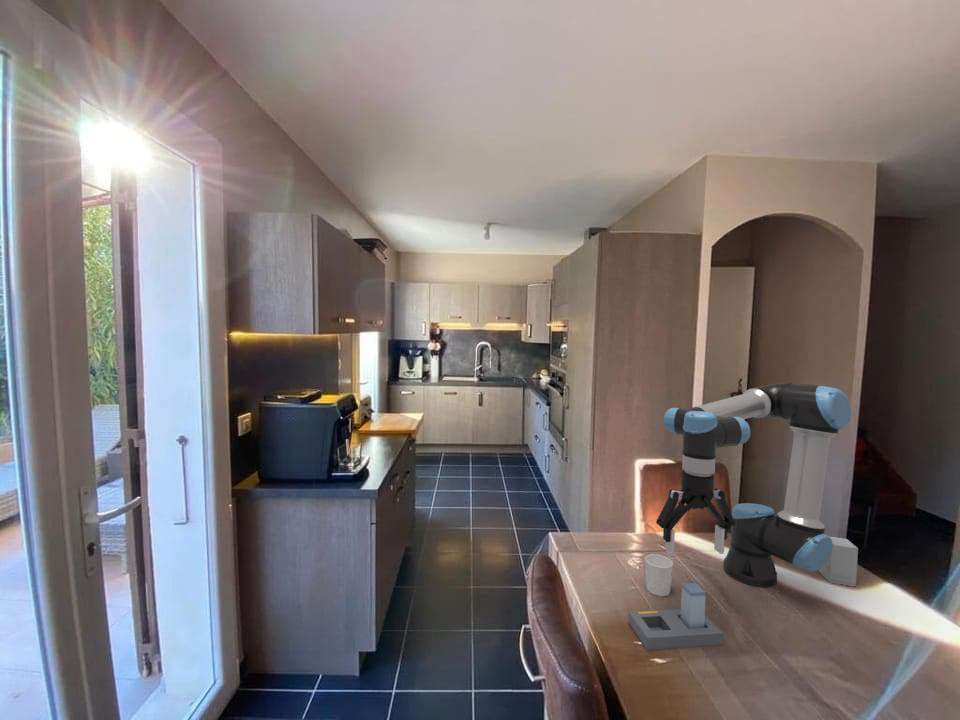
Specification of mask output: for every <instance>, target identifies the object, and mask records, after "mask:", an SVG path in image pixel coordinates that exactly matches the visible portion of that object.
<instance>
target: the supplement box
mask: <svg viewBox="0 0 960 720" xmlns="http://www.w3.org/2000/svg"><path fill="white" fill-rule="evenodd" d="M829 537H830V538H831V539H832V543H833V549H832V553H831V555H830V558H829V560H828V561H827V563H826V564H825V565H824V566H823V567H822V568H821V569H819V570H818V571H819V573H820V574H821V575H822V576H823V577H824V579H825V580H826V581H827V582H828V583H831V584H834V583H835V584H836V585H840V584H843V585H842V586H846V585H850V586H849V587H853V586H857V574H858V573H857V572H858V554H859V548H858V547H857V546H856V545H855V544H854V543H852V542H851V541H850V540H849V539H847V538H843V537H834V536H829Z"/></svg>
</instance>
